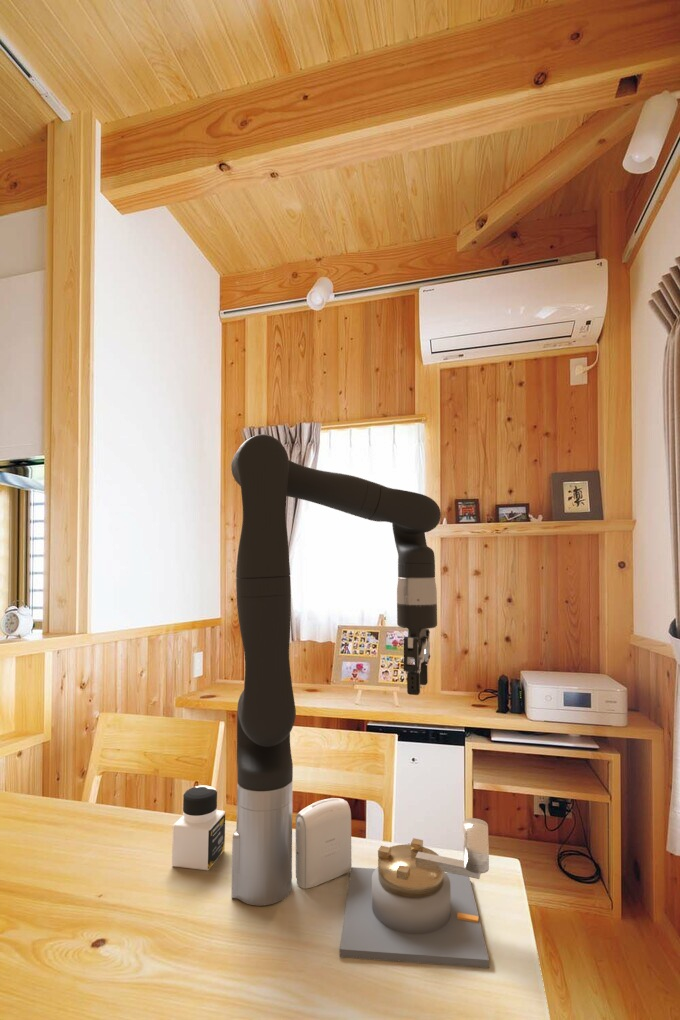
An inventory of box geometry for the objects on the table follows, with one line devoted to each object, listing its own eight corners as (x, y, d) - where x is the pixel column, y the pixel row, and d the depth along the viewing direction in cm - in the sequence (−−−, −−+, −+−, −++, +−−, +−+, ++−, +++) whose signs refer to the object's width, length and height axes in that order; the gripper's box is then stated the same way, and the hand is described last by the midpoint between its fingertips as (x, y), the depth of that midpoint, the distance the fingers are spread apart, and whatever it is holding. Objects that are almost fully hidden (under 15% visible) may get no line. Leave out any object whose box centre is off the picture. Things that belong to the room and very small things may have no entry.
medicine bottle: (208, 871, 94) (210, 799, 95) (171, 867, 96) (173, 796, 97) (225, 850, 101) (226, 783, 102) (190, 846, 103) (191, 780, 104)
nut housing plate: (339, 957, 74) (339, 917, 74) (351, 873, 94) (351, 842, 94) (489, 968, 72) (488, 927, 72) (468, 880, 92) (468, 849, 92)
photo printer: (304, 893, 88) (304, 813, 89) (291, 880, 92) (291, 804, 93) (355, 873, 94) (355, 798, 95) (341, 861, 97) (341, 789, 99)
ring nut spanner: (369, 888, 80) (369, 820, 81) (388, 854, 90) (388, 794, 91) (485, 916, 74) (483, 842, 75) (493, 876, 83) (491, 811, 84)
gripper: (430, 604, 95) (432, 700, 93) (441, 599, 108) (443, 682, 107) (389, 603, 97) (389, 696, 95) (404, 598, 110) (405, 680, 109)
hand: (417, 689), depth 101 cm, fingers open, 8 cm apart
